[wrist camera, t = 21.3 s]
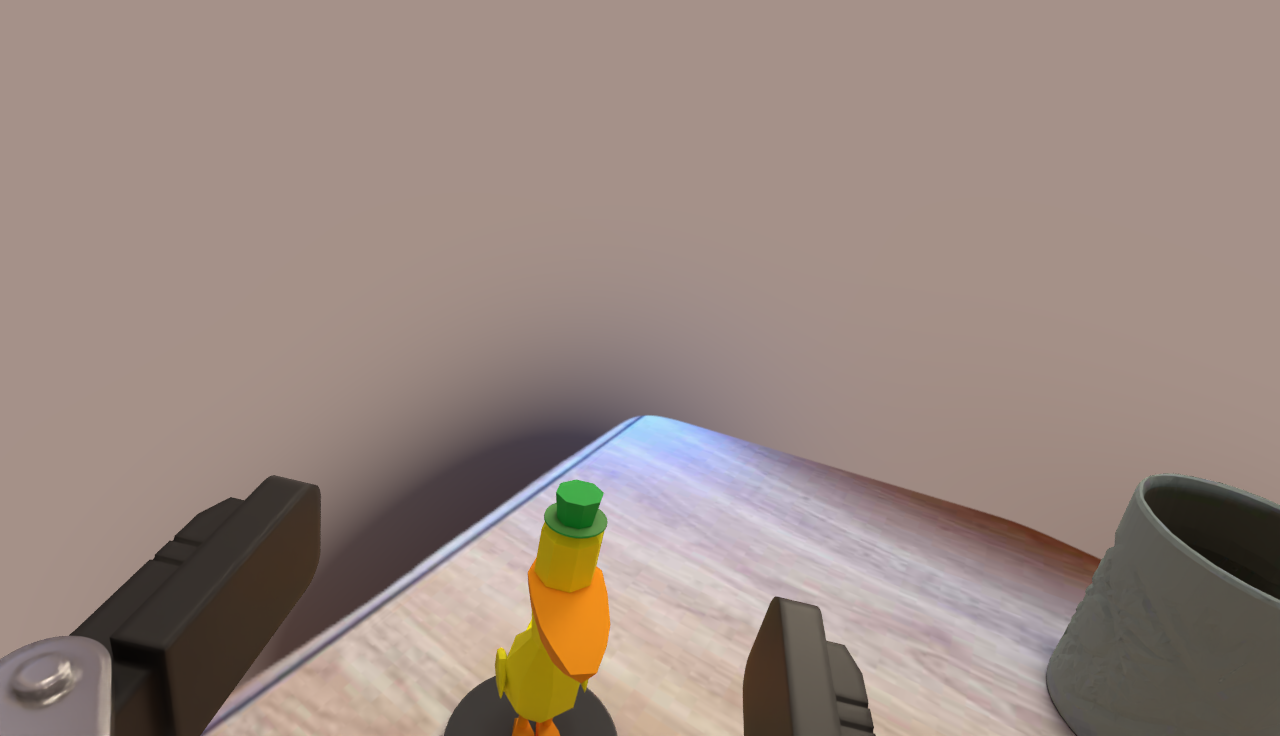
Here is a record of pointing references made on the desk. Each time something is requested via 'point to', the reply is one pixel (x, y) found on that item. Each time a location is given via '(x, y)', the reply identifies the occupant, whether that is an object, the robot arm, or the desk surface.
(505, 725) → the coaster
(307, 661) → the desk surface
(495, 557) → the desk surface
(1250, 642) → the grey green cup
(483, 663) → the desk surface
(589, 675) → the toy figure
